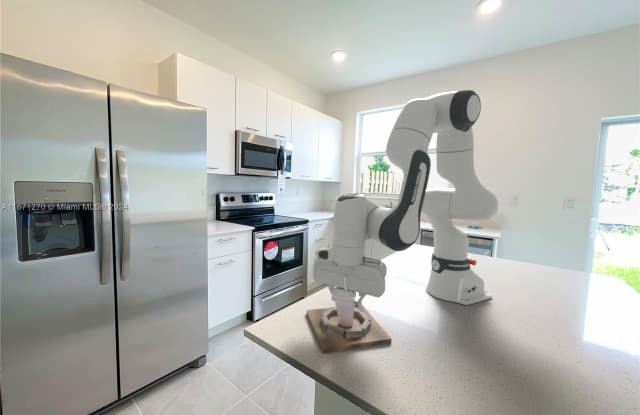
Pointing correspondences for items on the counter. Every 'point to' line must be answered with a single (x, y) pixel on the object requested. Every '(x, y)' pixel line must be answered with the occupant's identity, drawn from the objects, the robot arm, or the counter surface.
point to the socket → (346, 330)
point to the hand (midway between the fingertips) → (346, 303)
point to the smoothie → (344, 304)
